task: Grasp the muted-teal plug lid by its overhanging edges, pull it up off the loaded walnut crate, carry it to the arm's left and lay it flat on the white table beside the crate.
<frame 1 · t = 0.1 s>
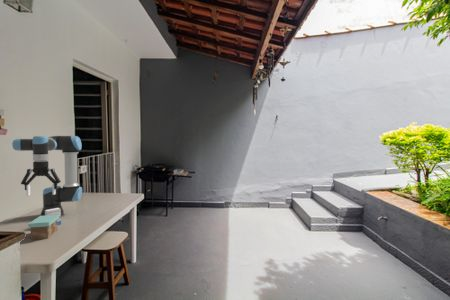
hand: (41, 194, 147), 28 cm above the table, fingers open, 13 cm apart
lid: (44, 225, 154), point 6 cm above the table, touching crate
ink box: (53, 225, 171), on the table
crate: (44, 234, 154), on the table
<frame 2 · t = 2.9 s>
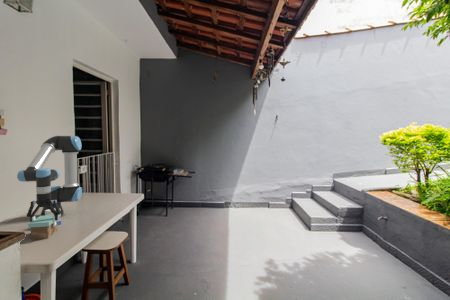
hand: (44, 226, 154), 6 cm above the table, fingers closed on lid, 11 cm apart
lid: (44, 225, 154), point 7 cm above the table, touching crate, gripper
everything else where it was.
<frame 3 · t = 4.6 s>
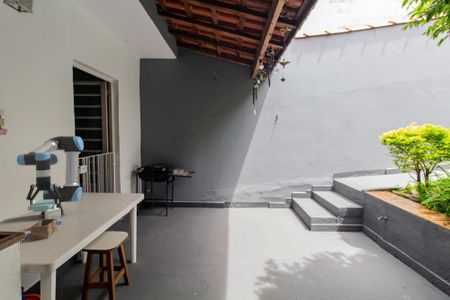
hand: (44, 209, 153), 17 cm above the table, fingers closed on lid, 11 cm apart
lid: (44, 208, 153), point 17 cm above the table, touching gripper
everything else where it was.
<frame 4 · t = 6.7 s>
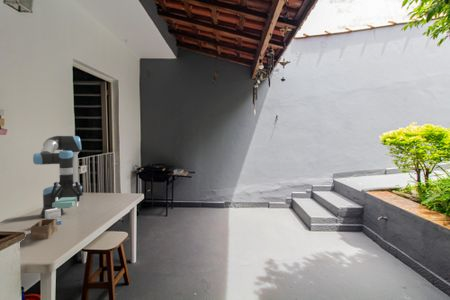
hand: (66, 206, 157), 18 cm above the table, fingers closed on lid, 11 cm apart
lid: (66, 205, 156), point 18 cm above the table, touching gripper
everything else where it was.
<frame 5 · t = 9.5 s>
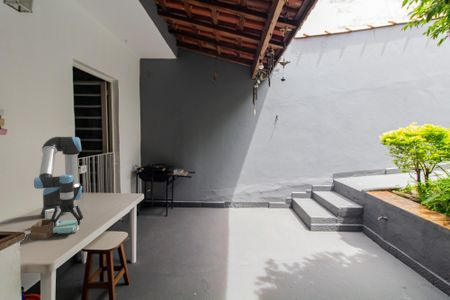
hand: (67, 230, 157), 2 cm above the table, fingers closed on lid, 11 cm apart
lid: (67, 229, 157), point 2 cm above the table, touching gripper
everything else where it was.
when the fingers open (1 cm above the table, at t = 10.5 s): lid drops 2 cm, on the table.
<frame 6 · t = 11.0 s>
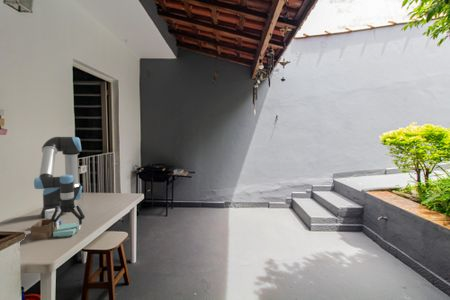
hand: (68, 230, 158), 2 cm above the table, fingers open, 12 cm apart
lid: (67, 233, 157), on the table
everything else where it was.
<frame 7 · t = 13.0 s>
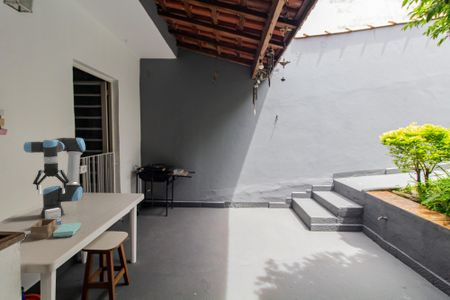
hand: (52, 193, 160), 25 cm above the table, fingers open, 13 cm apart
nothing on the table moved.
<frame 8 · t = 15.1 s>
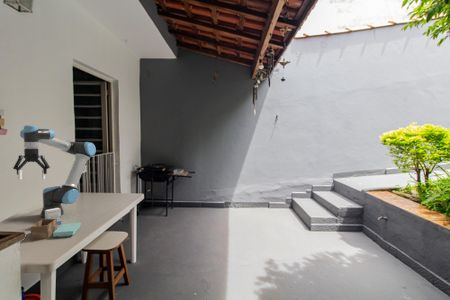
hand: (32, 179, 162), 35 cm above the table, fingers open, 13 cm apart
nothing on the table moved.
at the end: lid inside the target area (0.3 cm from its centre), on the table; lid tilted 0°; lid touching table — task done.
